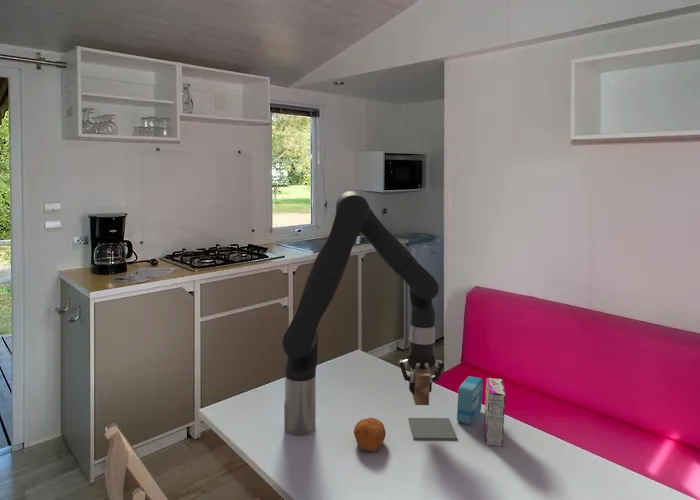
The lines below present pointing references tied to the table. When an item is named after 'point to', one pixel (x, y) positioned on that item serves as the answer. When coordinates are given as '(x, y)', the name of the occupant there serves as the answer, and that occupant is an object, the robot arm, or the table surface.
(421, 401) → the slab
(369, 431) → the potato
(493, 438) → the candy bar box
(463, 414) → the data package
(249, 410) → the table surface
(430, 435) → the mat
